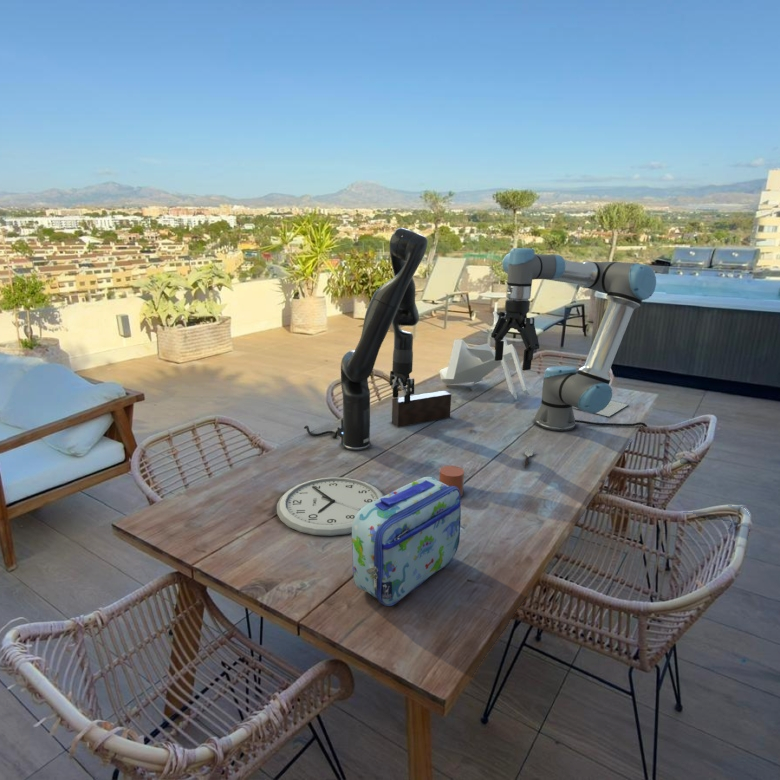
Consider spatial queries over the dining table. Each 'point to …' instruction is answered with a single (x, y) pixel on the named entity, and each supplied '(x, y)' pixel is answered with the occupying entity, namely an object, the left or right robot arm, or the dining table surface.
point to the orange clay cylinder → (452, 477)
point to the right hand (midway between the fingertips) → (512, 365)
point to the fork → (528, 455)
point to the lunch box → (405, 538)
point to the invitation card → (611, 408)
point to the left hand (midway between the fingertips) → (401, 400)
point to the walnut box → (421, 408)
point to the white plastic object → (480, 364)
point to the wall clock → (325, 505)
